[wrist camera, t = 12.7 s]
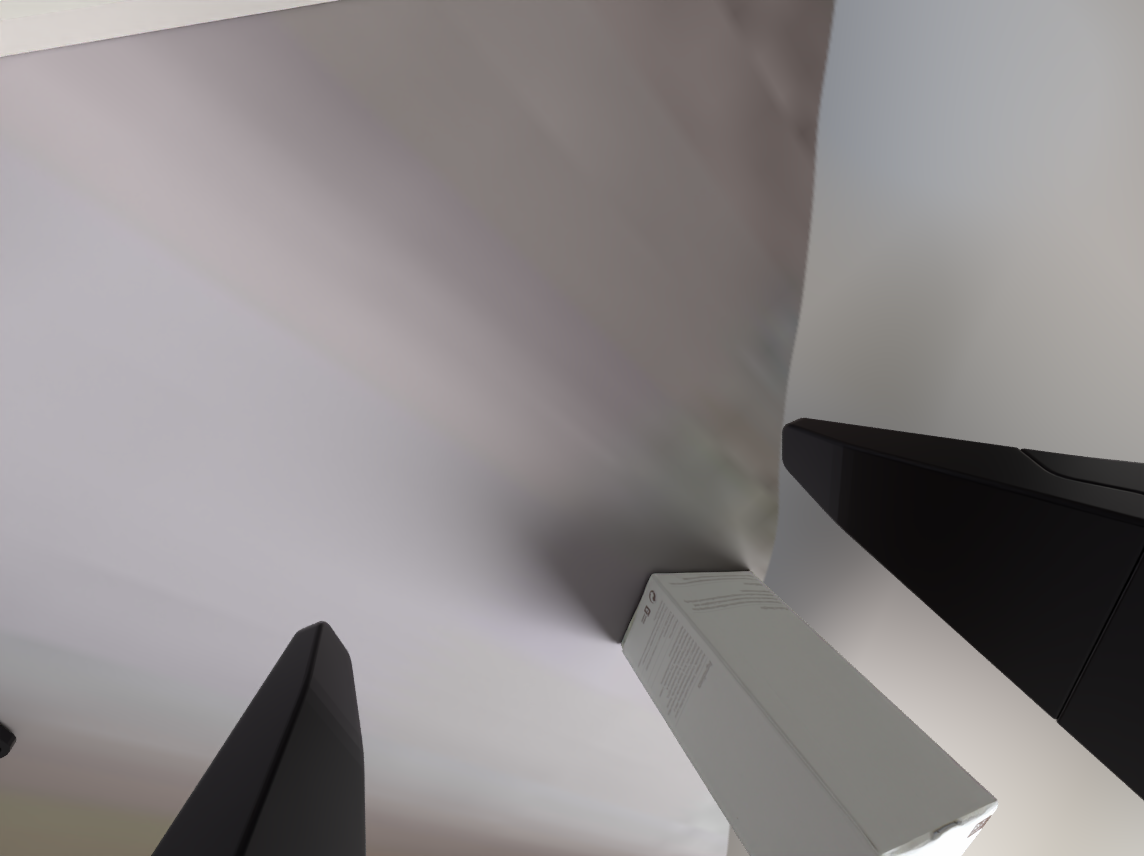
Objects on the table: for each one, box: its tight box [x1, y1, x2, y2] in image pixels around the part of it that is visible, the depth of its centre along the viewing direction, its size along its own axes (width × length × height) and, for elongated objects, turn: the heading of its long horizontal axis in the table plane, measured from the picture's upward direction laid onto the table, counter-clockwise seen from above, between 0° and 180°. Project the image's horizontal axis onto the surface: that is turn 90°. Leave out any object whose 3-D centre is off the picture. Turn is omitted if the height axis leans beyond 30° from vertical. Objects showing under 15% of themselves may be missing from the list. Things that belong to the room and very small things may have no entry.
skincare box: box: [621, 571, 998, 856], centre depth 25 cm, size 8×6×15 cm
